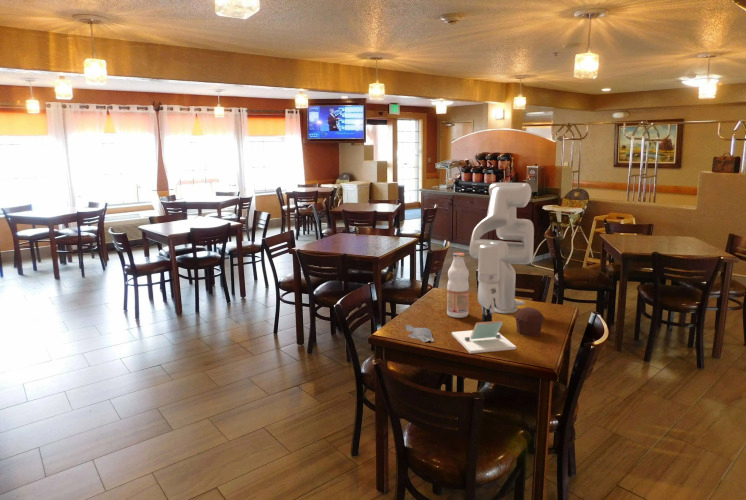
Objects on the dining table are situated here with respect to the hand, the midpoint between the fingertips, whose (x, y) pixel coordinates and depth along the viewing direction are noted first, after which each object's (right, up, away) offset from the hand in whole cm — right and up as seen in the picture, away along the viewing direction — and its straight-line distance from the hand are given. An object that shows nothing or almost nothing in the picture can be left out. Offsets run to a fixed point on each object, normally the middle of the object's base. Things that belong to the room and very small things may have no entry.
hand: (486, 324), depth 197 cm
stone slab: (-24, -7, +14) cm, 29 cm away
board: (-1, -7, +5) cm, 9 cm away
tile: (0, -2, +1) cm, 2 cm away
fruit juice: (-5, -1, +37) cm, 37 cm away
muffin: (+20, -6, +14) cm, 25 cm away
